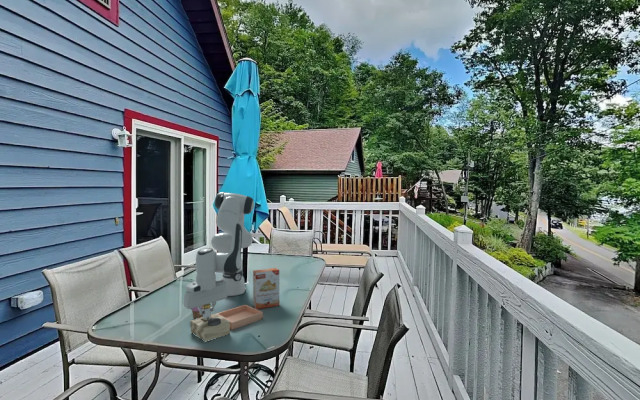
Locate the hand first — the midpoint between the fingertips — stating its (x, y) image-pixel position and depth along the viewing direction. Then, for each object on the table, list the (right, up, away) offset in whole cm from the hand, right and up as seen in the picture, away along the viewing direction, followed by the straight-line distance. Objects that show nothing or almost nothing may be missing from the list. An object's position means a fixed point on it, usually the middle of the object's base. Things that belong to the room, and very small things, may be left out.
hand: (206, 312), depth 156 cm
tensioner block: (+2, -9, -2) cm, 10 cm away
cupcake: (-9, -9, +17) cm, 21 cm away
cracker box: (+23, -8, +33) cm, 41 cm away
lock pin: (0, -9, 0) cm, 9 cm away
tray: (+12, -8, +14) cm, 20 cm away
